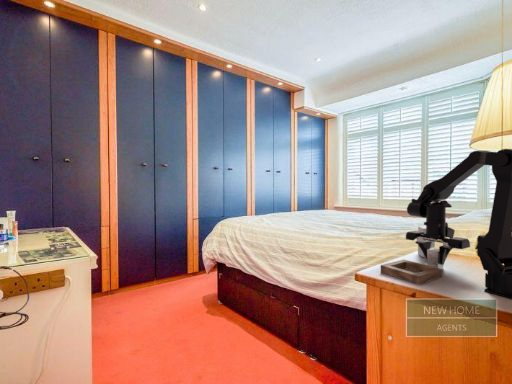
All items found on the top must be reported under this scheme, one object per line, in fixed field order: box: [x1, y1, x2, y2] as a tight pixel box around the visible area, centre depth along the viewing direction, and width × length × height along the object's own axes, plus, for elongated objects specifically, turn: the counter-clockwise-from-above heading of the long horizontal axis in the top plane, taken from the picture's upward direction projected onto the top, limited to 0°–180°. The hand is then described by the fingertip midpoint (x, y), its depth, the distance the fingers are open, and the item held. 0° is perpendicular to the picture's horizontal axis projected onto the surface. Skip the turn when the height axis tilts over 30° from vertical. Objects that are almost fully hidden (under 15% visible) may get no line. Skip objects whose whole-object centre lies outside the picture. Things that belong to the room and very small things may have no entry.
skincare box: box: [417, 225, 436, 259], centre depth 113 cm, size 6×4×12 cm
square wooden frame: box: [380, 259, 443, 285], centre depth 91 cm, size 13×13×2 cm
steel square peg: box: [426, 247, 445, 271], centre depth 96 cm, size 4×4×7 cm
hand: (435, 263), depth 96 cm, fingers open, 4 cm apart
